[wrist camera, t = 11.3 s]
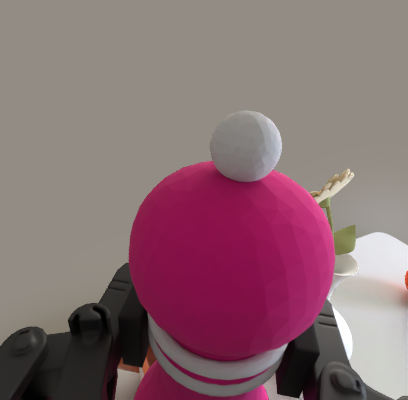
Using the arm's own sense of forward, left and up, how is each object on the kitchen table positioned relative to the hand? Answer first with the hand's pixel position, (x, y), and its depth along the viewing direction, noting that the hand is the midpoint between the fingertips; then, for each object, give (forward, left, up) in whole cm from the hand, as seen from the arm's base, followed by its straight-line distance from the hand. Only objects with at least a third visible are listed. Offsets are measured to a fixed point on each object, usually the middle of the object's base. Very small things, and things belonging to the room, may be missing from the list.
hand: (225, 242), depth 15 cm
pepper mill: (0, +5, -12) cm, 13 cm away
